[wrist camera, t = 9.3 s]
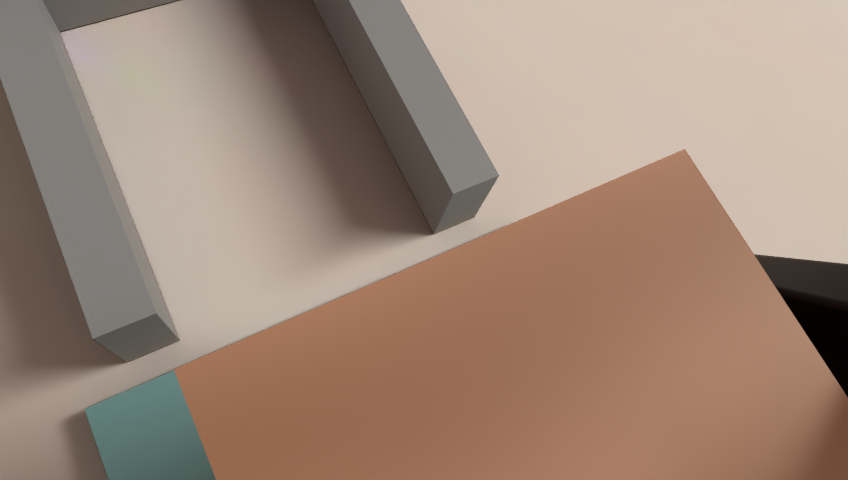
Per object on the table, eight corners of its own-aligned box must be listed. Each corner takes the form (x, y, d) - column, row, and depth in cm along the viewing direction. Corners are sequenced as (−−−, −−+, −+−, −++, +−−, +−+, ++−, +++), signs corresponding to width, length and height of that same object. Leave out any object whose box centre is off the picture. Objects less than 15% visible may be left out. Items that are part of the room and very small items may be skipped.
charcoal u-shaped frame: (473, 217, 17) (517, 143, 14) (126, 362, 15) (65, 319, 11) (322, -62, 20) (325, -189, 16) (1, 20, 17) (-83, -108, 14)
